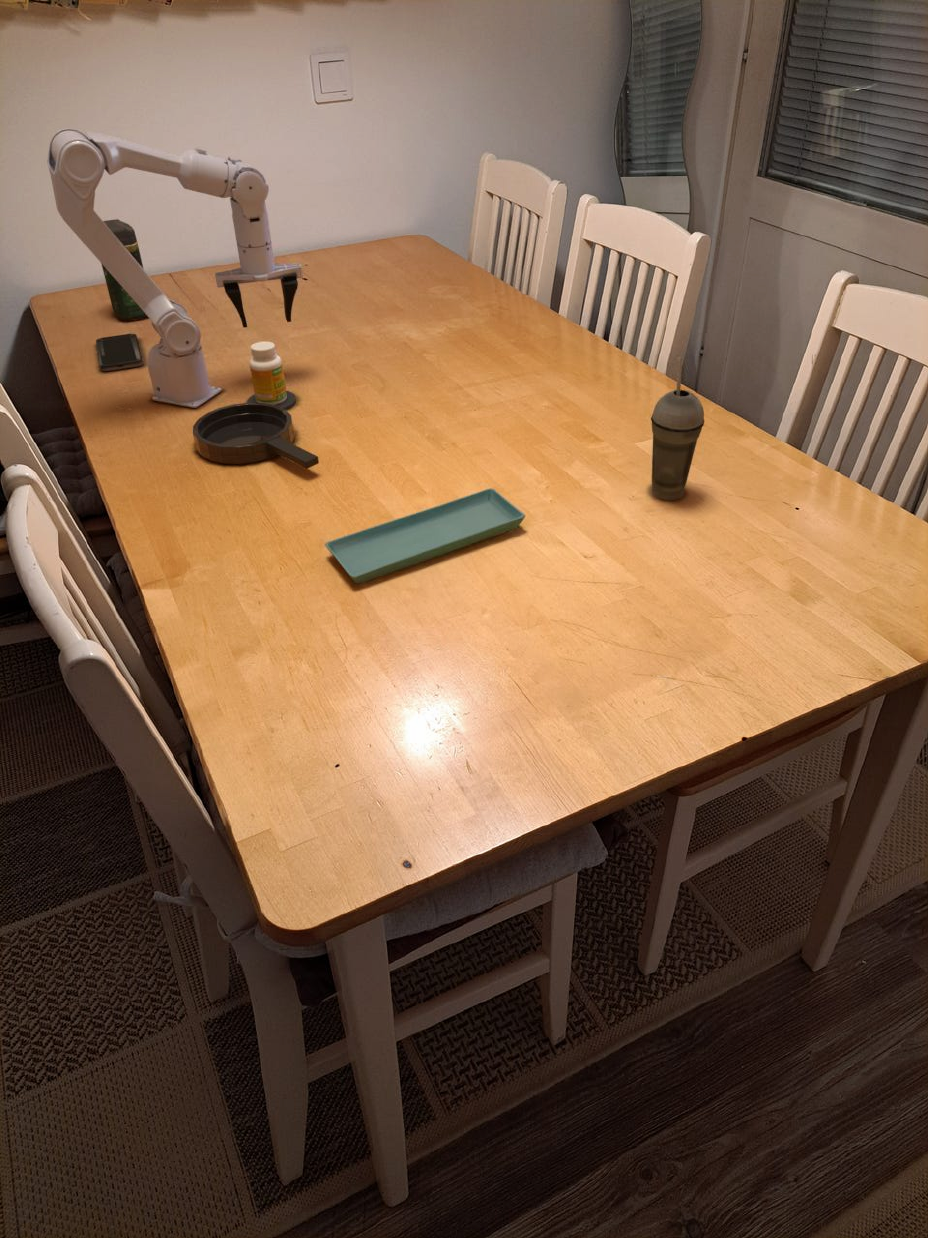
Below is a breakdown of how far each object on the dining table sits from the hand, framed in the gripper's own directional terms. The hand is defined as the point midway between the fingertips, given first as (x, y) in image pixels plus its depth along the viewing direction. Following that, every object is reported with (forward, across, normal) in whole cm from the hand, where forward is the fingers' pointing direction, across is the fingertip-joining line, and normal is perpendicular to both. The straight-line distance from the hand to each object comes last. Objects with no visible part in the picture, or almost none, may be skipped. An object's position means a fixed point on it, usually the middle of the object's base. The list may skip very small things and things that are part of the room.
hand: (266, 322), depth 160 cm
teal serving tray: (+11, +12, -61) cm, 64 cm away
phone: (+10, -28, +21) cm, 36 cm away
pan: (+10, -8, -23) cm, 27 cm away
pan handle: (+9, -2, -34) cm, 35 cm away
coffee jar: (+11, -24, +44) cm, 51 cm away
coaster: (+10, -2, -10) cm, 15 cm away
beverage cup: (+11, +49, -60) cm, 78 cm away
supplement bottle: (+10, -2, -10) cm, 14 cm away
